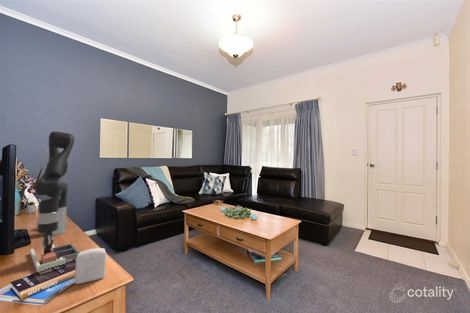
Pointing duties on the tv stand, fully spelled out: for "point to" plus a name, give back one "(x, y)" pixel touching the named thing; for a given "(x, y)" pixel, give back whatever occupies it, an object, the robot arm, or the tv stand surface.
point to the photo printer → (90, 265)
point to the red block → (48, 258)
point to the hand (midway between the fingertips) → (46, 256)
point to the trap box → (61, 252)
